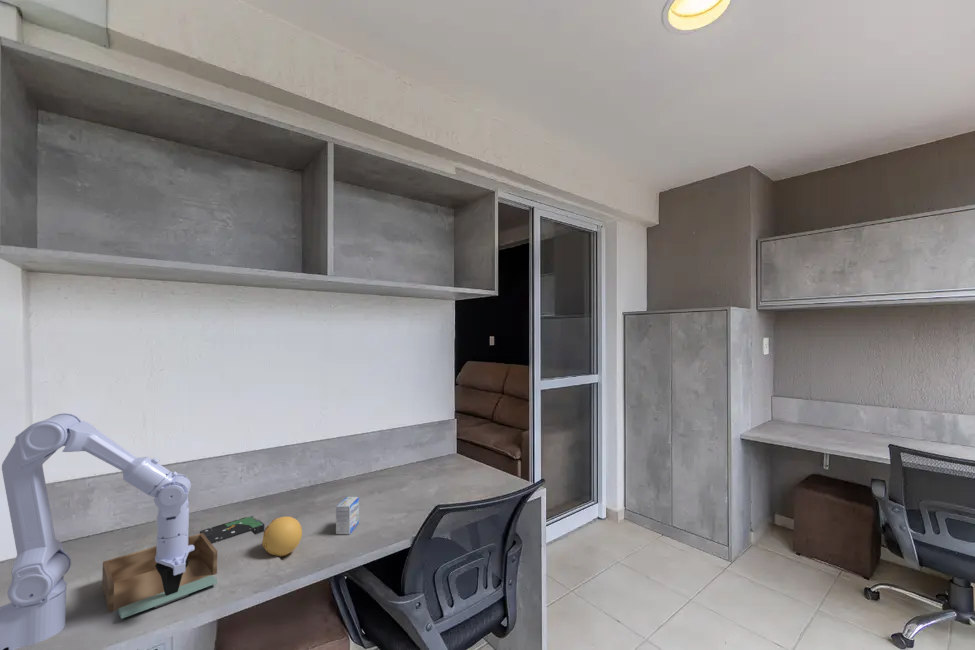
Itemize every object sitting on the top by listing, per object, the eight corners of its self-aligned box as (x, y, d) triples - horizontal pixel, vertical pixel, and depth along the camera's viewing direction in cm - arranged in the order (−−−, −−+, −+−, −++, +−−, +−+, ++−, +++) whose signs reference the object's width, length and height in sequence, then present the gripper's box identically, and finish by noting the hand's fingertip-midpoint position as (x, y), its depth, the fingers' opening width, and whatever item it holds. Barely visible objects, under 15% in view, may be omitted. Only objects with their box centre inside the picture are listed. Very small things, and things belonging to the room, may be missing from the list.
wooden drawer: (108, 619, 88) (109, 586, 89) (101, 591, 98) (102, 561, 98) (216, 579, 103) (217, 551, 103) (202, 558, 113) (202, 532, 113)
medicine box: (349, 535, 126) (350, 506, 127) (335, 534, 127) (335, 506, 127) (359, 523, 134) (359, 496, 135) (345, 523, 134) (346, 496, 135)
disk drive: (210, 552, 117) (265, 532, 129) (210, 542, 117) (265, 523, 129) (198, 540, 124) (252, 522, 135) (198, 530, 124) (252, 514, 135)
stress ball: (304, 556, 116) (307, 521, 123) (294, 541, 109) (298, 505, 117) (266, 566, 114) (272, 530, 121) (253, 551, 107) (260, 514, 115)
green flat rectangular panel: (118, 616, 89) (121, 621, 85) (118, 608, 89) (121, 613, 85) (210, 581, 101) (217, 585, 98) (210, 575, 101) (217, 578, 98)
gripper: (202, 537, 91) (201, 599, 91) (186, 517, 101) (185, 573, 100) (162, 549, 86) (160, 615, 85) (149, 526, 96) (148, 586, 95)
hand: (171, 593), depth 93 cm, fingers closed, pressing on green flat rectangular panel
